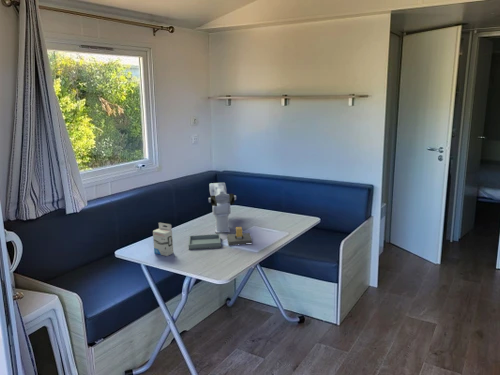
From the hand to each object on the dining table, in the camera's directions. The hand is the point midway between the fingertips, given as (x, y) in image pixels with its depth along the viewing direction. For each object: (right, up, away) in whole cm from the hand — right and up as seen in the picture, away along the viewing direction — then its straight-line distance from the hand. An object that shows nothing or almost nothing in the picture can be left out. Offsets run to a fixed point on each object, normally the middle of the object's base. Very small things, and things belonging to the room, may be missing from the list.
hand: (223, 203), depth 224 cm
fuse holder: (+8, -20, +6) cm, 22 cm away
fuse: (+8, -20, +6) cm, 22 cm away
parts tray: (-10, -21, +3) cm, 23 cm away
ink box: (-29, -24, -8) cm, 39 cm away
